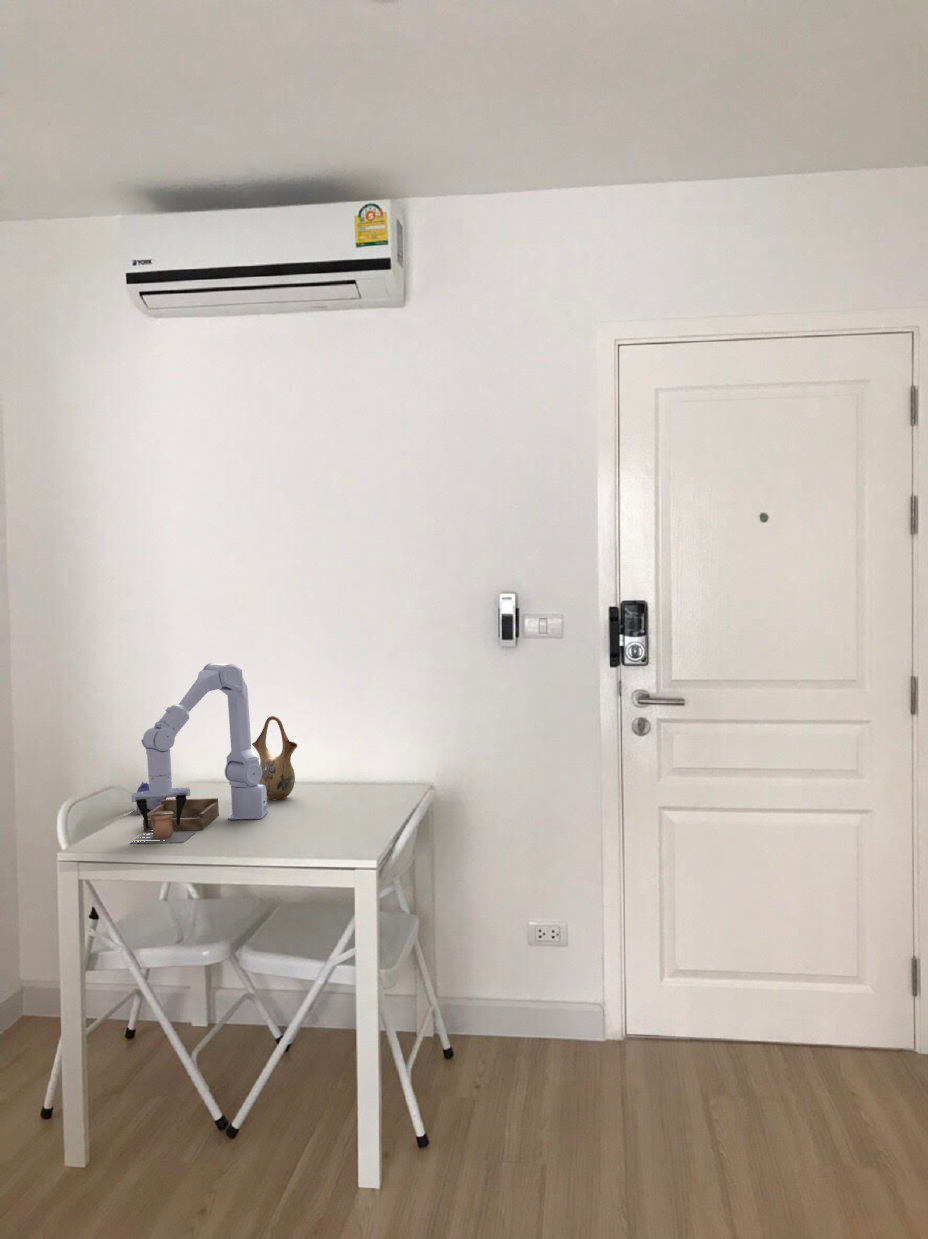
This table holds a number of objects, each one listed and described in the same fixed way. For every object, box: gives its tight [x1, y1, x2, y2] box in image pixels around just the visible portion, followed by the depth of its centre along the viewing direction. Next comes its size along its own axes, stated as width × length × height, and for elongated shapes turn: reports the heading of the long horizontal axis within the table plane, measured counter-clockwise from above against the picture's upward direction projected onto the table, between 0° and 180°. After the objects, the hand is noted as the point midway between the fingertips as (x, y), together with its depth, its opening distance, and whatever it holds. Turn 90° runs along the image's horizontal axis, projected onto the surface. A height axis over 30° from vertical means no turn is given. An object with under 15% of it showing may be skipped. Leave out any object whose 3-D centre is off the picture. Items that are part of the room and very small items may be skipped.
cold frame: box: [142, 797, 220, 831], centre depth 277 cm, size 16×15×5 cm
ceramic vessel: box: [251, 715, 299, 800], centre depth 302 cm, size 16×9×25 cm, turn 62°
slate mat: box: [130, 831, 196, 845], centre depth 262 cm, size 14×10×1 cm
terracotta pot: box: [150, 811, 174, 839], centre depth 262 cm, size 6×6×6 cm
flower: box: [135, 781, 167, 816], centre depth 292 cm, size 9×9×10 cm
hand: (162, 826), depth 262 cm, fingers open, 7 cm apart
